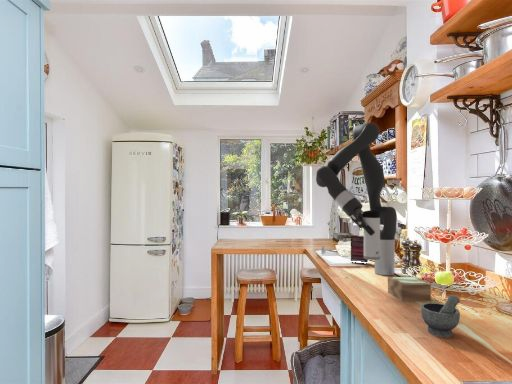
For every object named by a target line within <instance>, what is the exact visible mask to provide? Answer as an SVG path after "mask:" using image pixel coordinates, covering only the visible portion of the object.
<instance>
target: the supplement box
mask: <svg viewBox="0 0 512 384" xmlns="http://www.w3.org/2000/svg"><path fill="white" fill-rule="evenodd" d="M351 261H361V262H369V261H368V259H365V258H364V234H362V235H361V234H359V235H358V234H352V235H350V262H351Z"/></svg>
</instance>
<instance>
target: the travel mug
mask: <svg viewBox="0 0 512 384" xmlns="http://www.w3.org/2000/svg"><path fill="white" fill-rule="evenodd" d="M380 211H381V209H378V210H370V209H369V210H364V211H363V212H364V218H365V219H366V222H367V224H368V225H369V226H370V227H371V228H372V229H373V230H374V231H375V233H374V234H373V235H371V236H370V235H369V234H368V233H367V231H366V230H365V229H363V236H364V258H365V259H368V260H371V261H375V260H379V259H380V230H381V225H380Z"/></svg>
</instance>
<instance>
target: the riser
mask: <svg viewBox="0 0 512 384" xmlns="http://www.w3.org/2000/svg"><path fill="white" fill-rule="evenodd" d="M431 286H432V285H431V284H430V283H428V282H427V281H425V280H422V279H419V278H417V277H415V276H403V277H402V276H401V277H400V276H398V277H397V276H395V277H391V276H390V277H389V276H388V277H387V293H388V294H389V295H392V296H393V297H394V298H396V299H397V300H399V301H400V302H428V301H429V302H432V301H431V300H432V294H431V293H432V290H431V288H432V287H431Z"/></svg>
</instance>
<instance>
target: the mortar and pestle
mask: <svg viewBox="0 0 512 384" xmlns="http://www.w3.org/2000/svg"><path fill="white" fill-rule="evenodd" d="M460 302H461V301H460V298H459V297H458V295H457V296H456V295H455V294H449V295H448V296H447V299H446V302H445V303H444V304H443V303H440V302H426V303H421V304H420V310H421V311H420V312H421V317H422V320H423V321H424V323H425V325H427V333H429V334H430V335H432V336H435V337H440V338H450V337H453V331H452V330H453V329H455V328H457V326H458V325H459V323H460V317H461V316H460V315H461V313H460V310H459V308H457V306H458V304H459V303H460Z"/></svg>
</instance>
